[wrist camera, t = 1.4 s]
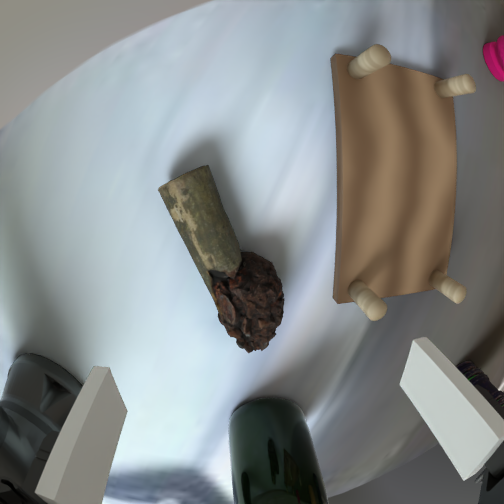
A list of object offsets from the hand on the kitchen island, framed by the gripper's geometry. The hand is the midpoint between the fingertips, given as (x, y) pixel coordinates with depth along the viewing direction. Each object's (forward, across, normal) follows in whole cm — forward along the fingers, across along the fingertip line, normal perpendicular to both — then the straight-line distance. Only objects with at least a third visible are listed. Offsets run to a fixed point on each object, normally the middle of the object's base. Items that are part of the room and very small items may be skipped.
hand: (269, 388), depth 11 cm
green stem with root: (+18, -1, 0) cm, 19 cm away
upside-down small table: (+18, +17, +7) cm, 26 cm away
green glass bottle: (+18, +2, -24) cm, 30 cm away
